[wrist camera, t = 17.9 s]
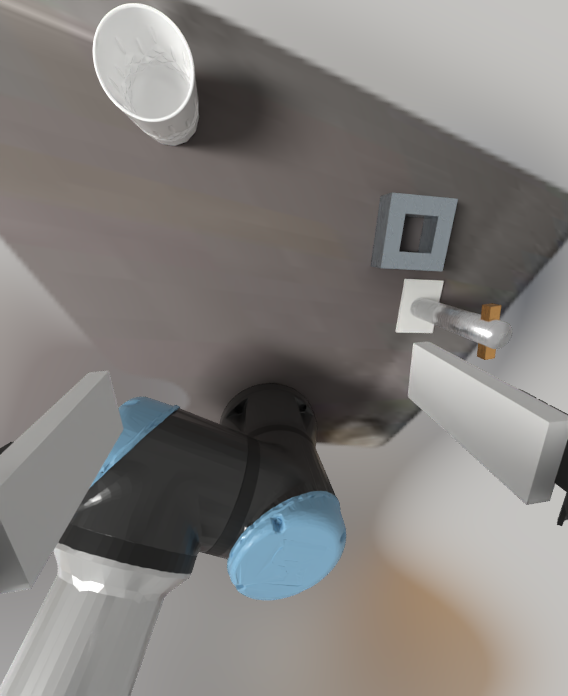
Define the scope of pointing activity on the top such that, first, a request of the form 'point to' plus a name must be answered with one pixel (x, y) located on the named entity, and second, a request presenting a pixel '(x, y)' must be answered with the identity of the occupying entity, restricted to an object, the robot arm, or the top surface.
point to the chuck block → (432, 237)
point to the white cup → (148, 71)
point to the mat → (409, 294)
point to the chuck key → (467, 324)
